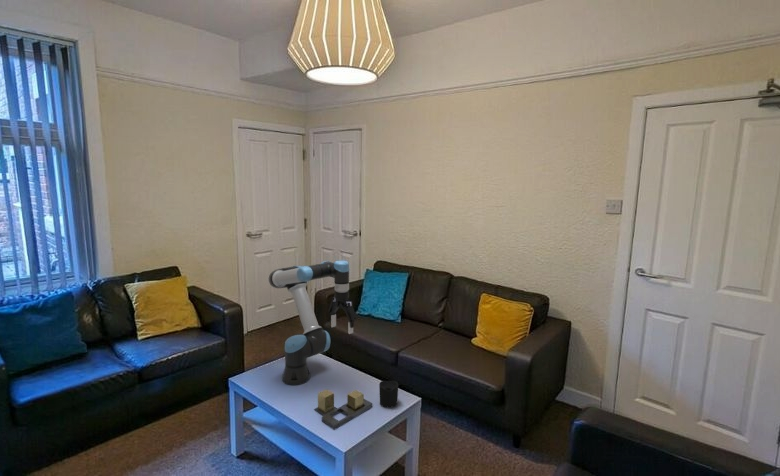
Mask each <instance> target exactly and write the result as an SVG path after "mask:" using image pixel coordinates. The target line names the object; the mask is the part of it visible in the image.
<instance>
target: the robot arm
mask: <svg viewBox="0 0 780 476" xmlns="http://www.w3.org/2000/svg"><path fill="white" fill-rule="evenodd" d="M323 278H333V279H334V296H333V297H331V302H330V304H329V308H328V309H327V313H328V314H329V315H330V324H331V325H330V326H331V328H334V327H337V314H336V312H337V311H338V310H339V309H342V310H343V311H344V313H345V315H346V317H347V319H348V325H347V327H348V334H349V335H350V334H354V327H355V322H356V321H357V320H358V318H357V315H356V312H355V308H354V306H353V301H349V299H350V291H349V290H350V263H349V262H348V261H347V260H336V261H334V262H332V261H329V260H328V261H325V260H324V261H322V262H320V263H318V264H312V265H304V266H302V265H294V266H289V267H288V266H287V267H282V268H277V269H274V270H273V271H271V273H270V274H269V276H268V283H269V284H270V286H271V287H273V288H274V289H284V288H285V289H287V291H288V292H289V293H290V294H291V295H292V298H293V301H294V304H295V307H296V310H297V313H298V317H299V319H300V322H301V325H302V327H303V333H302V334H294V335H292V336H289V337H288V338H287V339H286V340H285V342H284V357H285V358H284V362H285V363H284V364H285V366H284V369H283V374H282V377H281V378H282V382H283V383H284V384H285V385H287V386H288V385H290V386H298V385H299V386H300V385H303V384H305V383H307V382H309V380H310V378H311V371H310V369H309V366H308V362H307V361H308V358H311V357H313V356H316V355H319V354H323V353H324V352H326V351H328V350H329V349H330V347H331V336H330V333H329V332H328V331H327V330H324V329H323V327H322V326H321V325H319V323H318V320H317V317H316V314H315V312H314V308H313V305H312V303H311V300H310V296H309V294H308V291H307V289H306V288H307V286H308V282H309V281H314V280H318V279H323Z"/></svg>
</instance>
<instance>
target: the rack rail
mask: <svg viewBox="0 0 780 476" xmlns="http://www.w3.org/2000/svg"><path fill="white" fill-rule="evenodd" d="M336 408H337V409H336V410H334V411H332V412H330V413H328V414H326V415H325V416H323V415H322V416H321V422H322V423H324V424H325V425H327V426H329V427H330V428H332V429H333V430H336V429H337V428H339V427H341V426H343V425H345V424H346V423H347V422H350V421H351V420H353V419H354V418H356V417H357V416H359V415H361V414H363V413H365V412H367V411H368V410H370V409H372V408H373V403H372V402H370V401H369V400H367V399H365V398H364V407H362V408H360V409H359V410H357V411H353V410H352V409H350V408H348V407H347V403H344V404H342V405H341V406H339V407H336ZM340 413H341V414H343V415H344V416H345V417H343V418H342V419H340V420H338V419H336V418H335V417H334V416H337V415H338V414H340Z"/></svg>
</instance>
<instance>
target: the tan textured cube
mask: <svg viewBox="0 0 780 476" xmlns="http://www.w3.org/2000/svg"><path fill="white" fill-rule="evenodd" d="M317 407H318V409H319V410H320V411H322V412H324V413H327V412H329V411H331V410H333V409H334V407H335V393H334V392H333V391H331V390H329V389H327V388H326V389H324V390H322V391H319V392H318V393H317Z"/></svg>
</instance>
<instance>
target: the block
mask: <svg viewBox="0 0 780 476" xmlns="http://www.w3.org/2000/svg"><path fill="white" fill-rule="evenodd" d="M346 397H347V398H346V399H347V402H346V404H347V407H348V408H350V409H352V410H353V411H357V410H359V409H360V408H362V407H364V399H365V398H364V393H363V392H360V391H359V390H357V389H354V390H353V391H351V392H349V393H347V395H346Z"/></svg>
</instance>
